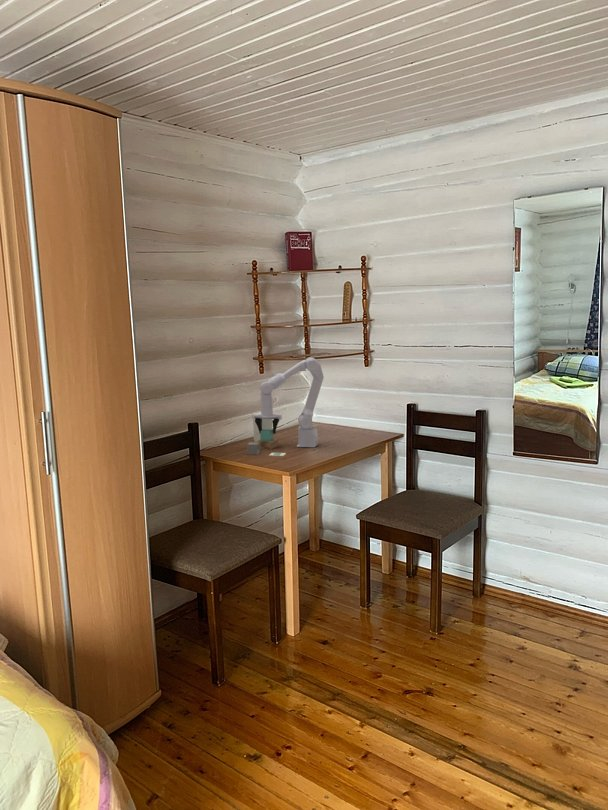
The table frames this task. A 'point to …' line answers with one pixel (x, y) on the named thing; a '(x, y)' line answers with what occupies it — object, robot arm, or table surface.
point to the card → (277, 454)
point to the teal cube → (266, 434)
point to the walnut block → (268, 444)
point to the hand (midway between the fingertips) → (267, 433)
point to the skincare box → (265, 425)
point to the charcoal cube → (253, 448)
